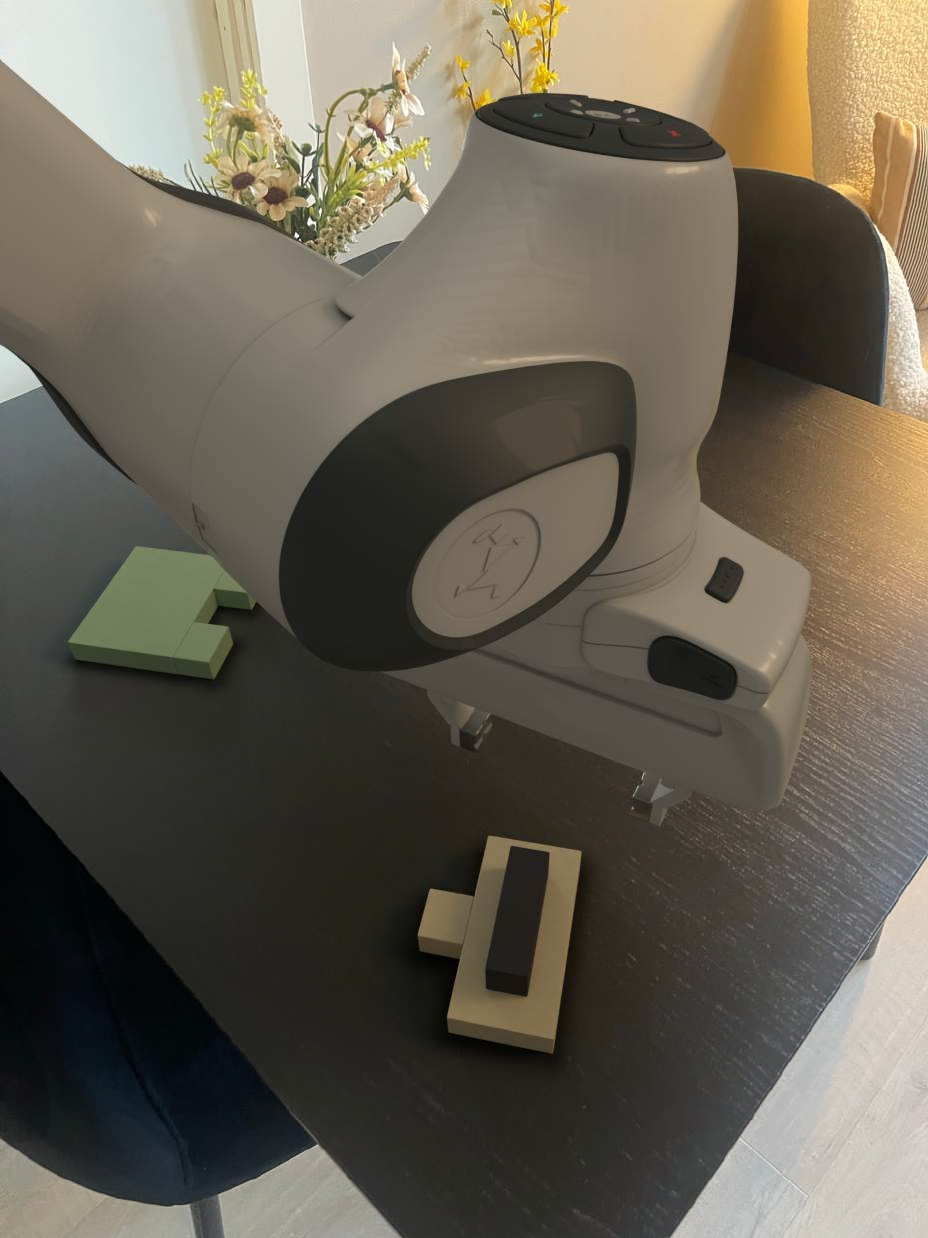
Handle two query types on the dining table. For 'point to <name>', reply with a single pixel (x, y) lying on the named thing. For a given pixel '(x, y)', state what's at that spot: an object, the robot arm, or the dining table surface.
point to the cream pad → (474, 942)
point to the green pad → (162, 615)
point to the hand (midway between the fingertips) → (558, 774)
